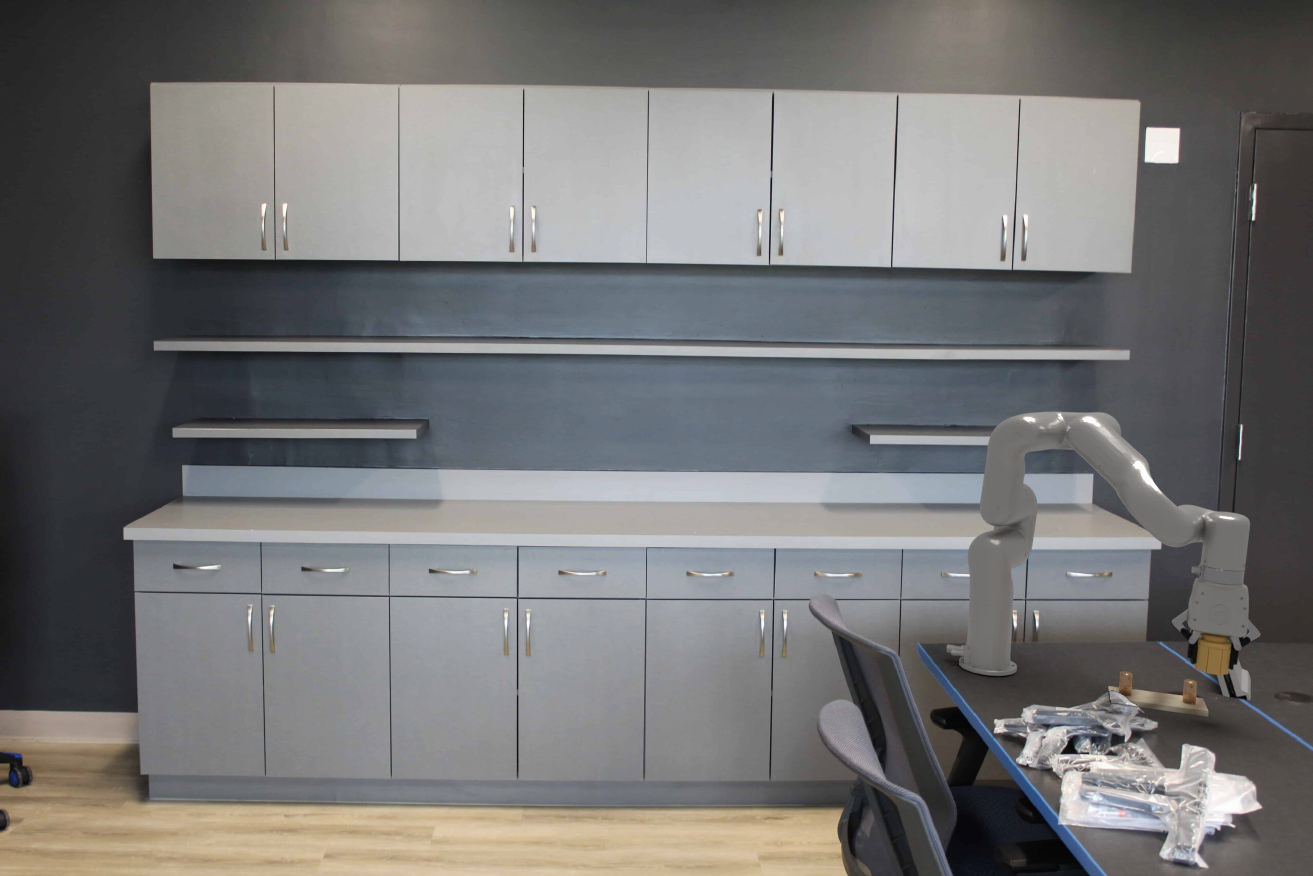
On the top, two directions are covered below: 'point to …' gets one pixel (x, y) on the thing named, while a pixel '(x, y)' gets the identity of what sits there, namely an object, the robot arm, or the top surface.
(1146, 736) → the top surface
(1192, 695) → the post right
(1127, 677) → the post left
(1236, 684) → the hinge
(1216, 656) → the cap
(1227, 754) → the top surface
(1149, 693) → the plate
